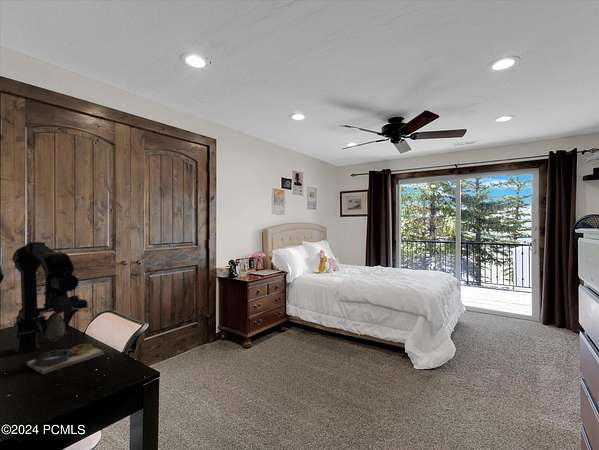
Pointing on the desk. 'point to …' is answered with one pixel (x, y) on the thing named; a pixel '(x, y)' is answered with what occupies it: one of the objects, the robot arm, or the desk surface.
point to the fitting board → (71, 361)
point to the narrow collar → (82, 349)
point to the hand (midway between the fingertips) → (54, 332)
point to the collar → (64, 355)
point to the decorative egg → (54, 327)
